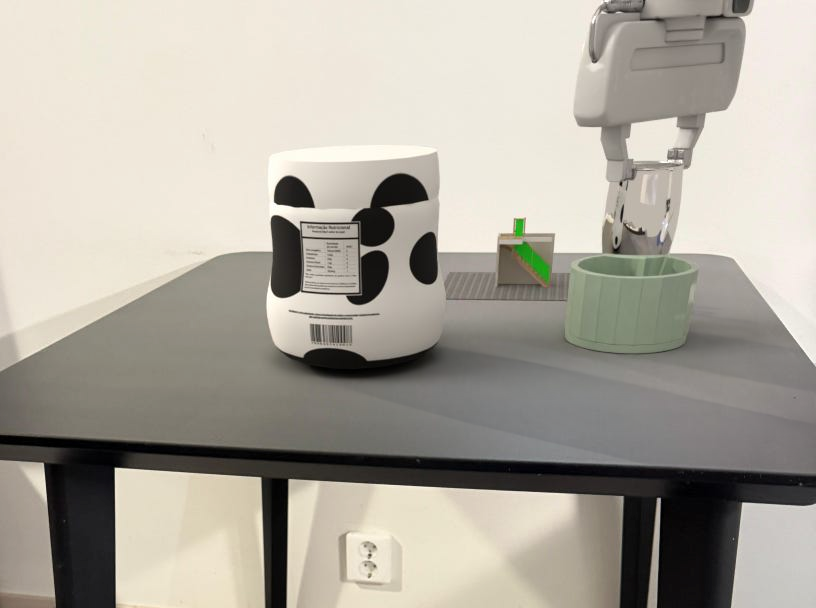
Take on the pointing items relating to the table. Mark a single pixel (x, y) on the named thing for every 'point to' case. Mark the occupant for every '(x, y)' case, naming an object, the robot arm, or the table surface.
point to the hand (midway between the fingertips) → (648, 175)
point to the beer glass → (641, 219)
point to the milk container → (355, 255)
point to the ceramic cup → (629, 307)
